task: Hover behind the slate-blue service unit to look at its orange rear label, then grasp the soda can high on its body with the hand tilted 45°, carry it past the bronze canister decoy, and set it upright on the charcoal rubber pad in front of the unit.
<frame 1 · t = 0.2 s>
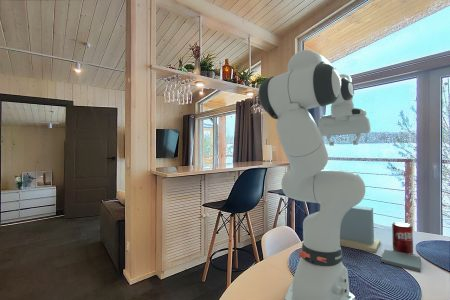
hand: (343, 145, 99), 48 cm above the table, tool pointing down, fingers open, 8 cm apart
service unit: (356, 243, 112), on the table
bronze canister: (329, 249, 105), on the table
soda can: (402, 251, 102), on the table
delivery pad: (401, 261, 93), on the table
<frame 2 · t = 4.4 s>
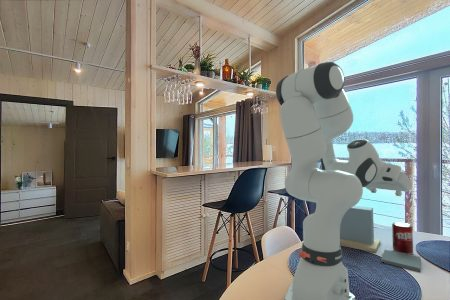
hand: (386, 193, 96), 27 cm above the table, tool tilted 45°, fingers open, 8 cm apart
nothing on the table moved.
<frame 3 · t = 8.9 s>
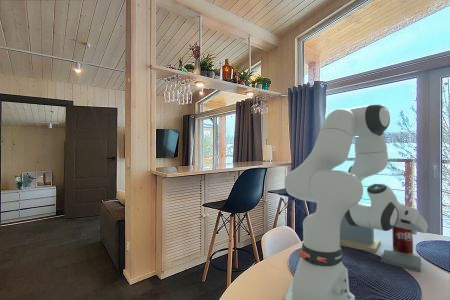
hand: (402, 230, 102), 9 cm above the table, tool tilted 45°, fingers closed on soda can, 7 cm apart
soda can: (402, 251, 102), on the table, touching gripper
everything else where it was.
when the fingers open (12 cm above the table, at t = 14.4 s): soda can stays where it is, resting on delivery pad.
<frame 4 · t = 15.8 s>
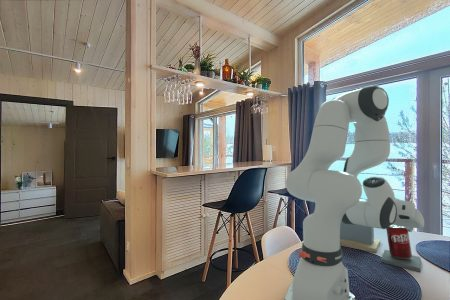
hand: (395, 228, 95), 13 cm above the table, tool tilted 45°, fingers open, 8 cm apart
soda can: (401, 257, 93), point 1 cm above the table, touching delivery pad, gripper
everything else where it was.
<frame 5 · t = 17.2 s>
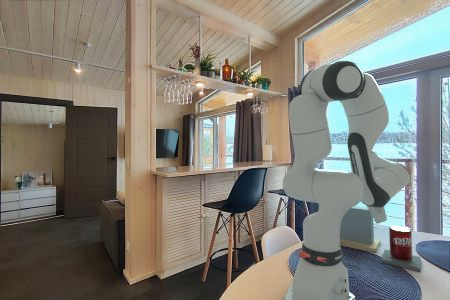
hand: (372, 213, 94), 19 cm above the table, tool tilted 35°, fingers open, 8 cm apart
soda can: (401, 257, 93), point 1 cm above the table, touching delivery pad
everything else where it was.
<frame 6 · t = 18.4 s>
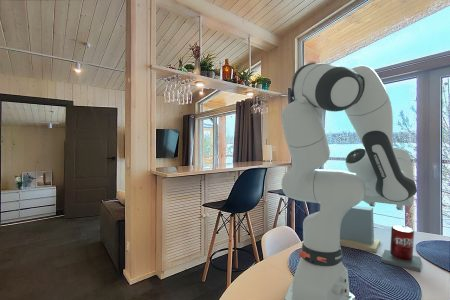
hand: (386, 206, 89), 23 cm above the table, tool tilted 45°, fingers open, 8 cm apart
nothing on the table moved.
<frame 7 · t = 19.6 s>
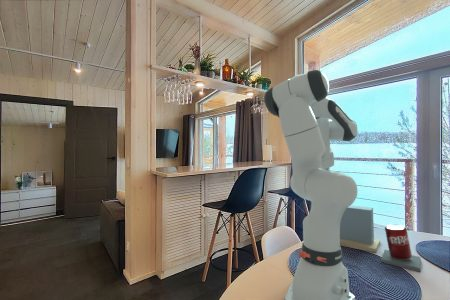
hand: (320, 179, 106), 32 cm above the table, tool pointing down, fingers open, 8 cm apart
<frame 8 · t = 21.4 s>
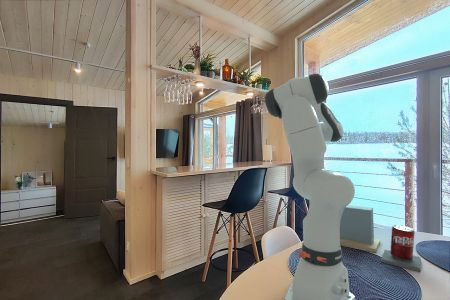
hand: (310, 177, 107), 33 cm above the table, tool pointing down, fingers open, 8 cm apart
at the end: soda can inside the target area on the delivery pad (0.3 cm from its centre), point 1.3 cm above the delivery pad's base; soda can tilted 5°; the gripper is holding nothing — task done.
